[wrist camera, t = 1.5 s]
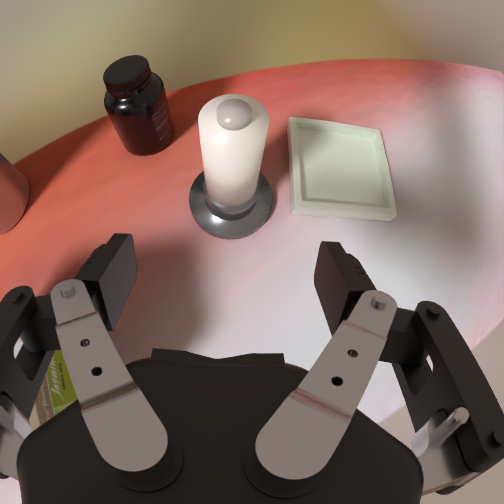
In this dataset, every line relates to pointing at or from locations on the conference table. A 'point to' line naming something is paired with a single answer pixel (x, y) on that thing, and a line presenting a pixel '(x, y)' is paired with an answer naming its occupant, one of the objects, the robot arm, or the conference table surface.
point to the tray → (338, 171)
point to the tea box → (51, 390)
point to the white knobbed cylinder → (232, 146)
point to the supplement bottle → (138, 105)
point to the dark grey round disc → (230, 211)
